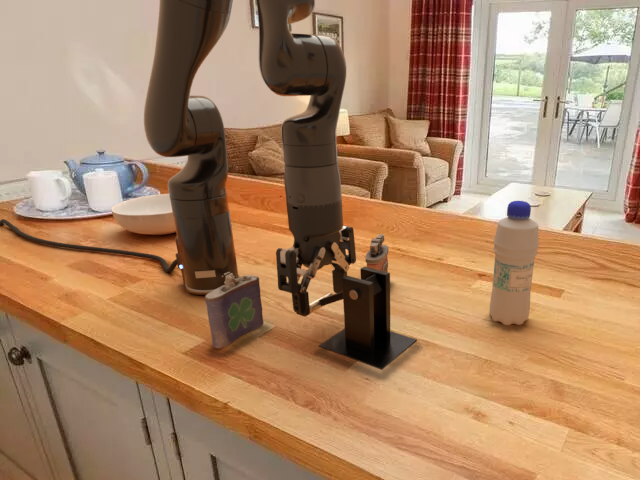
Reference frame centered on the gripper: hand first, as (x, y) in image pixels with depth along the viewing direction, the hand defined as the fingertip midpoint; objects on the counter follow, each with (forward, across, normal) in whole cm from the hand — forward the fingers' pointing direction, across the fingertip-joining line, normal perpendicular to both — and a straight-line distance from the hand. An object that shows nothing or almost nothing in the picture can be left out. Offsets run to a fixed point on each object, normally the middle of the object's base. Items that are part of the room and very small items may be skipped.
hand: (322, 303), depth 73 cm
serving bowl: (+5, -19, -68) cm, 71 cm away
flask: (+5, +8, -10) cm, 14 cm away
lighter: (+5, -18, -2) cm, 19 cm away
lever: (-1, 0, +5) cm, 5 cm away
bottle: (+6, -19, +23) cm, 30 cm away
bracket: (+5, 0, +8) cm, 10 cm away
